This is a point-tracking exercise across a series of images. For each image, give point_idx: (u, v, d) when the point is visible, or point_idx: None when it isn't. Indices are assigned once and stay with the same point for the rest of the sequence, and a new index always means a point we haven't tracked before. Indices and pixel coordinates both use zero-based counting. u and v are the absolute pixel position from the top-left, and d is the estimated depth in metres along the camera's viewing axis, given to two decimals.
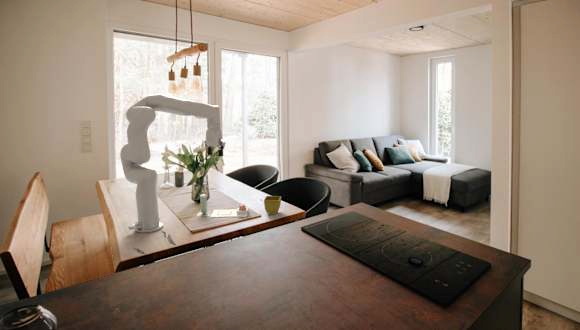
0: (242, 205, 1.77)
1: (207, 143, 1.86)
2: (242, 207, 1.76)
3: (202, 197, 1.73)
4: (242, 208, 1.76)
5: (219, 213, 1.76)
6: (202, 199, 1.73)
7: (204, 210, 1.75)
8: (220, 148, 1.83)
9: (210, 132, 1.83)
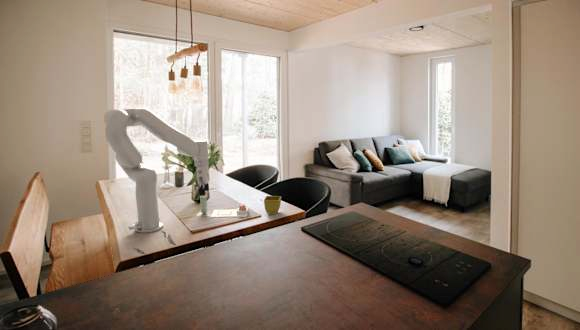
0: (242, 205, 1.77)
1: (207, 181, 1.71)
2: (242, 207, 1.76)
3: (202, 197, 1.73)
4: (242, 208, 1.76)
5: (219, 213, 1.76)
6: (202, 199, 1.73)
7: (204, 210, 1.75)
8: None
9: (207, 168, 1.72)
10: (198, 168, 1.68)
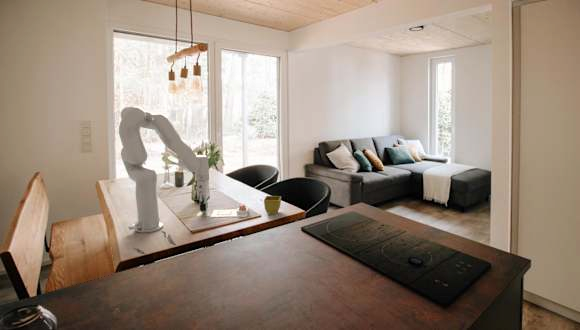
0: (242, 205, 1.77)
1: (207, 196, 1.72)
2: (242, 207, 1.76)
3: (202, 197, 1.73)
4: (242, 208, 1.76)
5: (219, 213, 1.76)
6: None
7: None
8: None
9: (207, 183, 1.74)
10: (198, 183, 1.69)
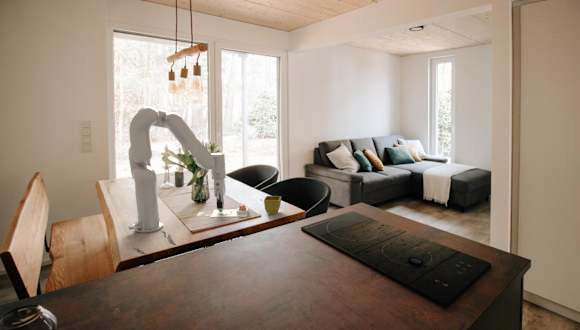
0: (242, 205, 1.77)
1: (223, 193, 1.72)
2: (242, 207, 1.76)
3: (219, 195, 1.74)
4: (242, 208, 1.76)
5: (219, 213, 1.76)
6: (219, 197, 1.74)
7: None
8: None
9: (224, 180, 1.74)
10: (215, 181, 1.69)
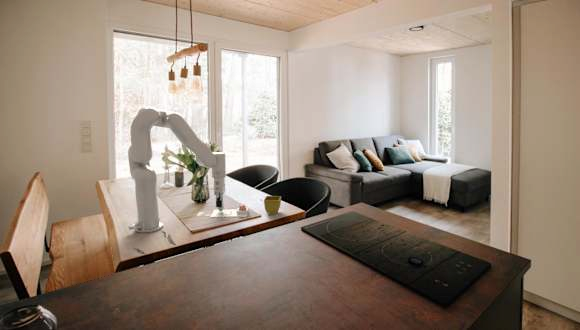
0: (242, 205, 1.77)
1: (223, 192, 1.74)
2: (242, 207, 1.76)
3: None
4: (242, 208, 1.76)
5: (219, 213, 1.76)
6: (219, 196, 1.75)
7: None
8: None
9: (224, 179, 1.76)
10: (215, 179, 1.71)
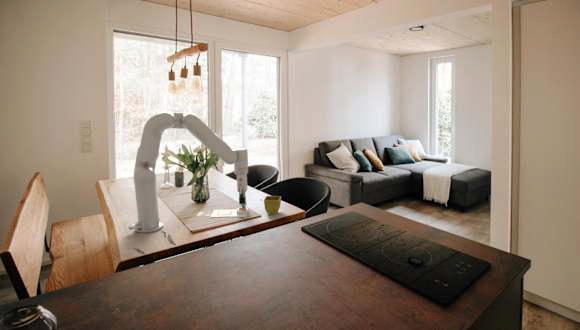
0: None
1: (246, 189, 1.72)
2: (242, 209, 1.76)
3: None
4: None
5: (219, 213, 1.76)
6: None
7: None
8: None
9: (246, 176, 1.74)
10: (238, 176, 1.70)
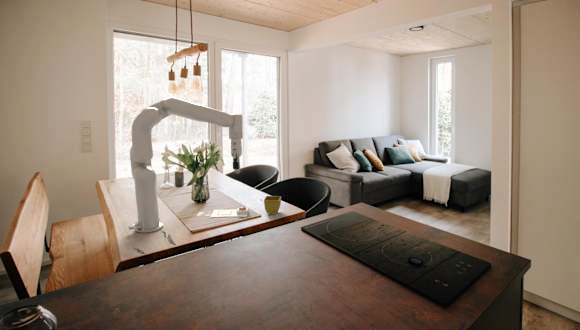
0: (242, 207, 1.77)
1: (240, 154, 1.73)
2: (242, 209, 1.76)
3: None
4: None
5: (219, 213, 1.76)
6: None
7: None
8: None
9: (240, 141, 1.75)
10: (233, 140, 1.70)
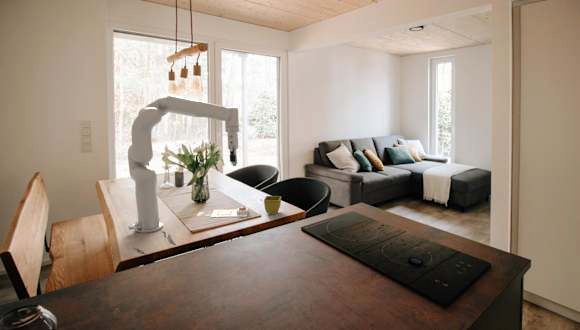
0: (242, 207, 1.77)
1: (237, 146, 1.77)
2: (242, 209, 1.76)
3: None
4: None
5: (219, 213, 1.76)
6: (233, 150, 1.78)
7: None
8: None
9: (237, 134, 1.79)
10: (229, 133, 1.74)
